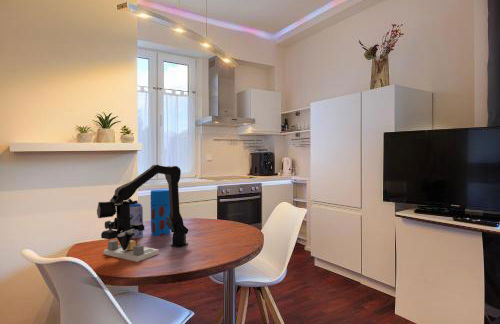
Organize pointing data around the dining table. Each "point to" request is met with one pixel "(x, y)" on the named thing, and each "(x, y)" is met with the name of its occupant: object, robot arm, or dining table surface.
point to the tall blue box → (159, 212)
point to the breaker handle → (131, 245)
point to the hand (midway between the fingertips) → (124, 250)
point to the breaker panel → (129, 251)
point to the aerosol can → (136, 217)
